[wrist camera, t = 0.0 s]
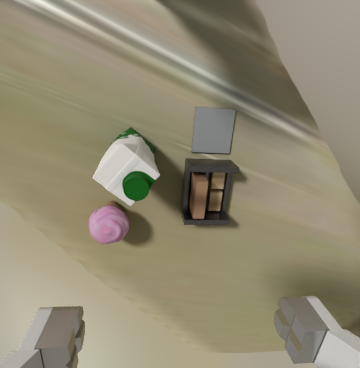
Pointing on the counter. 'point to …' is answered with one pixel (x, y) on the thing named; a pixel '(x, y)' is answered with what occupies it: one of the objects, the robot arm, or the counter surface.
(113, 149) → the milk carton
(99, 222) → the cupcake
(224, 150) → the grey mat
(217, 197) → the oak offcut
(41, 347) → the robot arm
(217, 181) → the oak offcut
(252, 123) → the counter surface
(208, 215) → the rack
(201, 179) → the brown flat block
